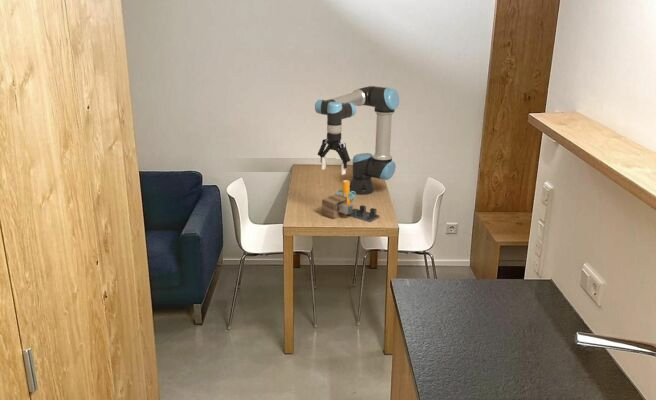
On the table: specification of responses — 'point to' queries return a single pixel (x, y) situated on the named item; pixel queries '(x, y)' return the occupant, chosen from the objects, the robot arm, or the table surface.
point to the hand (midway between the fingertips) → (333, 171)
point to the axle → (344, 208)
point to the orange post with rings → (347, 191)
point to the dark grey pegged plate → (364, 214)
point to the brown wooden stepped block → (332, 206)
